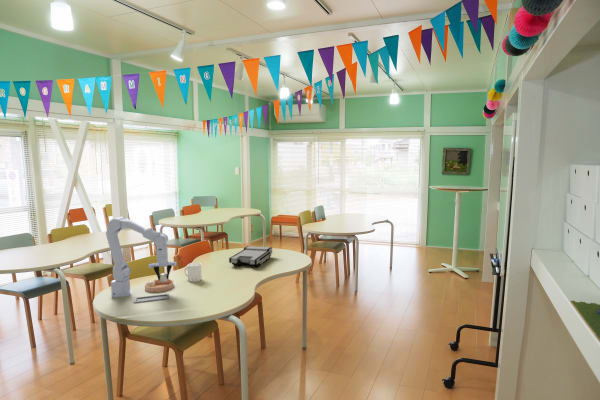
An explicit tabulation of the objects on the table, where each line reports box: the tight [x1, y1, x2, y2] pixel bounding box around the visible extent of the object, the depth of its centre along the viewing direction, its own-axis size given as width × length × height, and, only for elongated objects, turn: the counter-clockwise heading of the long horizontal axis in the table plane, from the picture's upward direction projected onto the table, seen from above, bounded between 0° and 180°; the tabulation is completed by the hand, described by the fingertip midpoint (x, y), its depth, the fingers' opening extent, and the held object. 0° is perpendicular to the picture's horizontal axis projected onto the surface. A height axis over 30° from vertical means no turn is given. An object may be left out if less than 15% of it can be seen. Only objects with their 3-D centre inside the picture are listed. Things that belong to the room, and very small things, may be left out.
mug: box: [183, 262, 203, 283], centre depth 233 cm, size 12×8×10 cm
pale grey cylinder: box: [159, 272, 167, 282], centre depth 208 cm, size 4×4×4 cm
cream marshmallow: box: [146, 280, 155, 287], centre depth 216 cm, size 4×4×4 cm
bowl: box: [144, 279, 175, 293], centre depth 218 cm, size 16×16×3 cm
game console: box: [228, 245, 273, 267], centre depth 272 cm, size 21×32×8 cm, turn 165°
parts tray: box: [133, 293, 170, 304], centre depth 200 cm, size 17×7×1 cm, turn 108°
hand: (163, 279), depth 208 cm, fingers closed on pale grey cylinder, 4 cm apart
